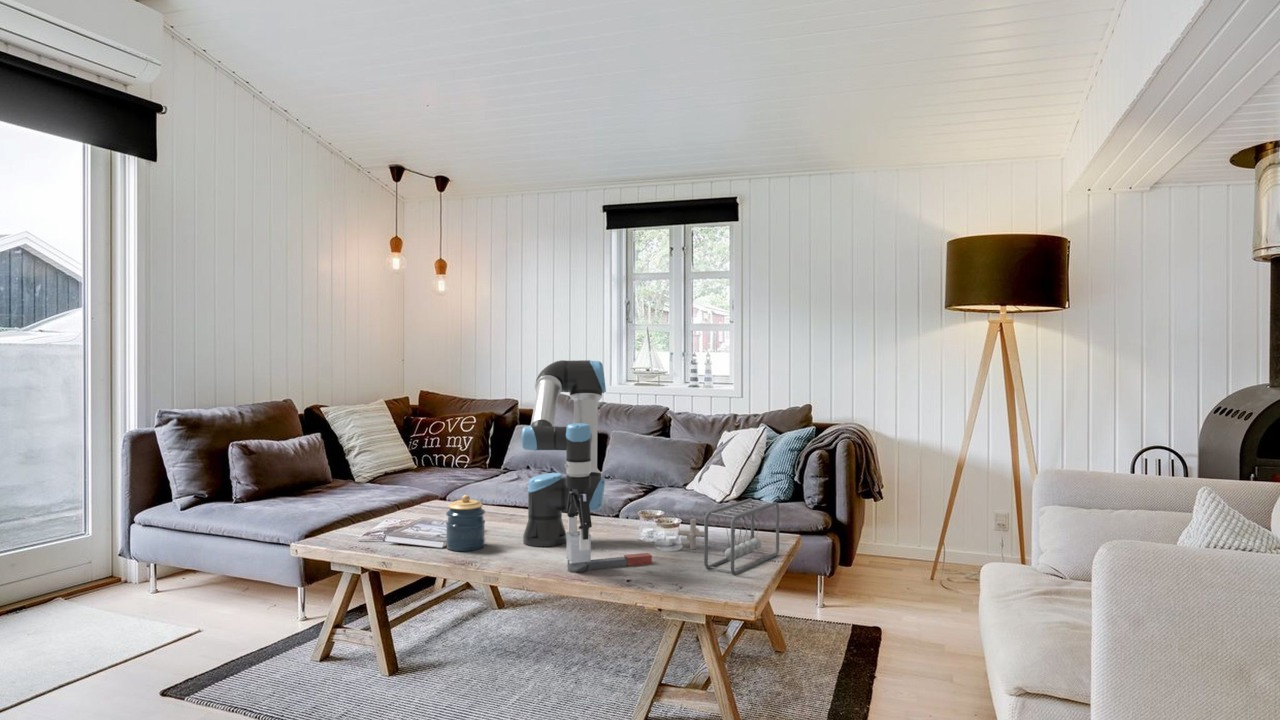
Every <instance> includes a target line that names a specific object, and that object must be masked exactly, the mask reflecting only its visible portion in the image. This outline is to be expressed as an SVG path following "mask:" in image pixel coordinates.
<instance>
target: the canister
mask: <svg viewBox="0 0 1280 720" xmlns="http://www.w3.org/2000/svg"><path fill="white" fill-rule="evenodd" d="M483 506H484V504H483V503H481V502H480V501H479V500H478V499H477V500H476V499H470V496H469V495H468V494H464V495H462V497H461V499H458V500H454V501H453V502H452V503H450V504H448V508H449V509H448V511H446V512H445V514H446V516H447V521H446V522H445V525H446V540H445V545H446V549H447V550H450V551H453V552H469V551H470V550H472V551H477V550H480V549H482V548H483V547H485V543H486V537H485V536H486V535H485V533H486V532H485V531H486V530H485V529H486V528H485V527H486V525H485V523H486V520H485V517H484V516H485V514H486V510H485V509H483ZM470 552H471V551H470Z"/></svg>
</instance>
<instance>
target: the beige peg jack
mask: <svg viewBox="0 0 1280 720" xmlns="http://www.w3.org/2000/svg"><path fill="white" fill-rule="evenodd" d="M696 525H697V519H696V518H690V525H689V526H690V527H689V529H690V530H686V529H685V530H683V529H678V531H677V535H678V536H683V537H686V540H688V541H690V543H689V544H690V545H689V546H690V547H689V549H690V550H692V549H694V550H697V549H696V548H697V545H696V544H697V543H696V541H697V540H696V538H704V531H700V529H699V528H697V526H696Z"/></svg>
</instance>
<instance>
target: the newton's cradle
mask: <svg viewBox="0 0 1280 720" xmlns="http://www.w3.org/2000/svg"><path fill="white" fill-rule="evenodd" d="M755 502H757V503H764V504H760V505H757V504H756V503H755ZM755 505H756V506H755ZM745 506H748V509H746V508H744V507H745ZM741 507H742V511H739V510H738V509H739V508H741ZM772 507H773V508H774V507H775V550H774V552H773V553H772V552H767V551H762V550H759V549H760V548H761V547H762V542H761V540H760V539H759V538H757V537H758V535H756V536H755V519H756V518H755V517H756V513H759V516H761V514H762V511H764V510H767V509H770V508H772ZM735 509H736V512H735V513H733V512H732V511H733V510H735ZM744 509H745V510H744ZM728 511H729V513H730V515H728V514H727V515H726V514H725V513H726V512H728ZM722 513H723V514H722ZM711 515H715V516H720V517H722V516H723V517H724V521H725V523H727V520H726V517H727V518H731V521H730V538H729V537H727V541H728V542H730V544H728V545H729V546H728V547H729V548H728V547H727V549H725V551H724V558H722V559H720V560H717V561H715V562H713V563H710V564H709V517H710V516H711ZM747 516H748V517H747ZM746 517H747V521H749V519H750V537H749V536H748V534H747V533H748V531H747V530H748V524H749V522H747V523H746V521H743V520H746ZM741 518H742V519H741ZM739 519H741V520H742V521H741V523H743V522H744V523H745V526H746V527H745V534H744V535H745V536H744V538H747V540H746V539H744V541H743V538H742V536H741V535H742V529H739V537H738V542H737V541H736V536H735V535H736V533H735V532H736V528H737V525H736V524H737V522H740V520H739ZM760 519H761V517H759V518H758V522H760ZM742 525H743V524H741V526H740V523H738V527H739V528H742V527H743V526H742ZM757 525H758V526H757V528H759V525H760V523H757ZM725 527H726V529H728V526H727V524H725ZM758 531H759V529H757V530H756V534H758ZM703 532H704V537H703V539H704V542H703V544H704V545H703V547H704V548H703V549H704V551H703V553H704V554H703V557H704V558H703V560H704V561H703V563H704V567H705V569H707V570H710V569H714V570H718V571H724V572H728V573H731V574H732V575H735V576H736V575H738V574H740V573H742V572H744V571H746V570H749V569H751V568H753V567H755V566H757V564H758V565H760V564H761V563H764V562H766V561H768V560H770V559H772V557H773V558H775V557H776V556H778V554H779V551H780V504H779V502H777V501H774V502H769V501H761V500H756V499H753V498H747V499H744V500H741V501H737V502H734V503H731V504H727V505H724V506H721V507H718V508H715V509H712V510H708V511H707V512H706V513H705V515H704V531H703ZM726 534H727V536H729V532H728V531H726ZM746 536H747V537H746ZM749 538H750V539H749ZM740 539H741V541H743V542H741V543H740ZM753 552H756V553H757V552H758V553H763V554H768V555H766V556H764V557H762V558H760V559H757V560H755V561H754V562H751V563H748V564H747V565H744V566H743V567H740V568H738V569H736V570H735V560H736V559H737V558H739V559H740V557H742V556H746V555H747V554H749V553H750V554H751V553H753ZM774 556H775V557H774ZM728 560H729V561H730V570H727V569H723V568H719V567H717V566H719V564H720V565H721V563H722V564H724V563H726V561H727V562H729V561H728ZM714 566H715V567H714Z"/></svg>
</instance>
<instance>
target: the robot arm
mask: <svg viewBox="0 0 1280 720" xmlns="http://www.w3.org/2000/svg"><path fill="white" fill-rule="evenodd" d="M604 370H605V369H604V365H603V362H601V361H599V360H591V359H588V360H587V359H586V360H566V359H565V360H556V361H554V362H552V363H550V364H548V365H547V366H546V367H544V368H543V369H542V370H541V371H540V373H539V374H538V375H537V377H536V379H535V384H534V390H535V392H536V394H535V399H534V404H533V411H532V416H531V422H530V425H529V426H524V427H523V428H522V430H521V446H522V449H523V450H525V451H526V450H527V451H534V452H535V451H565V452H566V458H565V459H566V461H565V462H566V463H565V464H564V468H565V470H566V472H565V473H566V474H567V475H566V476H565V477H563V475H562V473H558V472H553V473H544V474H539V475H535V476H534V477H531V478H530V479H529V481H528V489H527V493H528V494H527V495H528V502H527V503H528V505H527V506H528V509H527V510H528V518H527V519H528V520H527V523H526V525H525V529H524V532H523V536H522V541H523V544H524V545H527V546H532V547H543V546H544V547H555V546H560V545H563V544H565V543H567V532H575V531H578V529H579V531H580V550H589V534H590V528H592V527H593V524H592V517H591V512H598V511H600V510H601V509H602V506H603V500H604V495H605V494H604V493H605V485H606V478H605V477H602V472H601V471H600V470H599V469H598V419H599V418H598V415H599V414H598V411H599V410H598V409H599V405H598V403H599V401H600V400H601V399H602V398H603V394H605V393H606V392H607V389H606V388H607V387H606V382H605V381H606V379H605V378H606V377H605V372H604ZM561 393H569V398H570V399H571V400H572V401H573V423H570V424H569V423H568V425H566V426H555V420H556V414H557V405H558V400H559V399H558V398H559V396H560V394H561ZM562 512H564V513H566V515H567V531H566V528H565V526H564V523H563V519H562V514H563V513H562ZM578 519H579V524H580V525H579V526H578Z"/></svg>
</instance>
